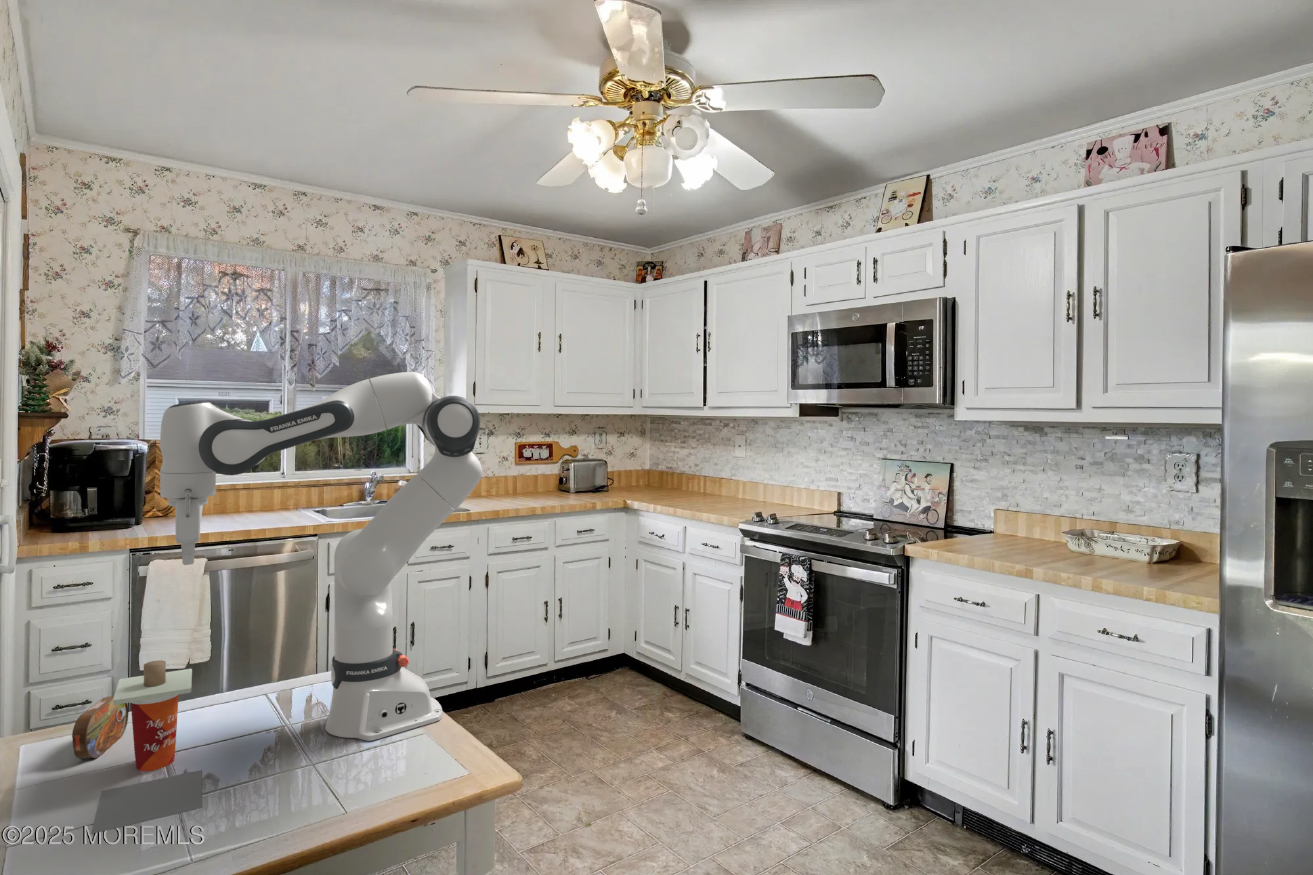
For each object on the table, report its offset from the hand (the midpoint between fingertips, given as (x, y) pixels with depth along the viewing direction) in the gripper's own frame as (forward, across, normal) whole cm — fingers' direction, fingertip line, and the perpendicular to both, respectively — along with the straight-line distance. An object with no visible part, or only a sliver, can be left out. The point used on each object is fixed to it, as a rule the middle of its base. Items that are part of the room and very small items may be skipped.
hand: (188, 559), depth 137 cm
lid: (+21, -8, +5) cm, 23 cm away
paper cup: (+35, -8, +5) cm, 37 cm away
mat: (+35, -22, +5) cm, 42 cm away
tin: (+35, +5, +14) cm, 38 cm away
